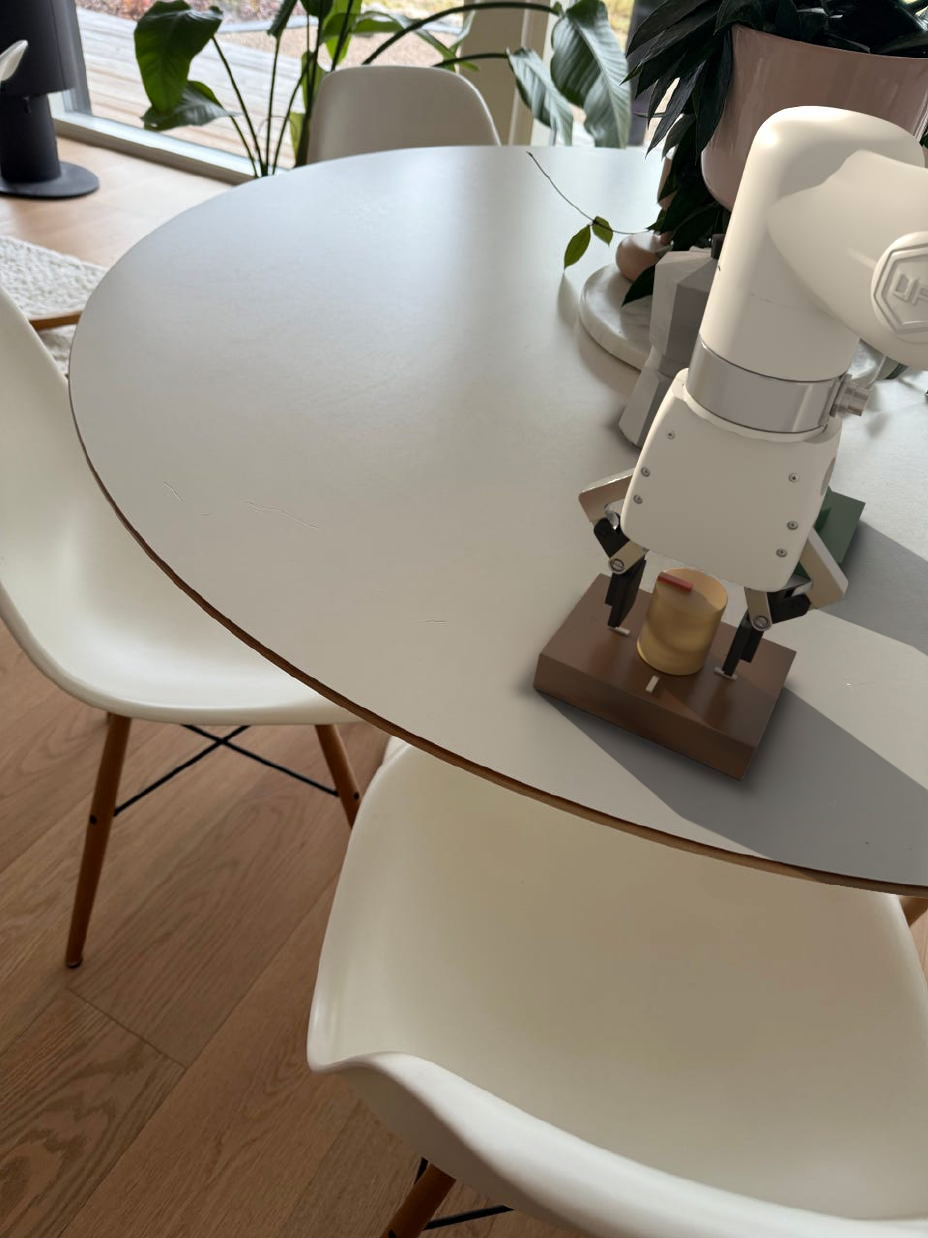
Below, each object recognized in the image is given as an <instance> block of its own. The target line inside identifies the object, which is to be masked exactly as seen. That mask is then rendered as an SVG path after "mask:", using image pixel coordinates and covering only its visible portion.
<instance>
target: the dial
mask: <svg viewBox="0 0 928 1238" xmlns="http://www.w3.org/2000/svg"><path fill="white" fill-rule="evenodd" d="M651 593H652V595H651V599H650V602H649V605H648V609H647V612H646V615H645V618H644V622H643V625H642V628H641V632H640V635H639V638H638V642H637V647H638V651H639V653H640V655H641V657H642V658H643V659H644V660H645V661H646V662H647V663H648V664H649V665H651V666H652V667H654V668H655V669H657V670H659V671H662V672H664V673H668V674H673V675H689V674H693V673H695V672H697V671H699V670H700V669H701V668H702V667H703V666H704V665H705V662H706V660H707V657H708V654H709V651H710V649H711V646H712V643H713V641H714V638H715V635H716V632H717V630H718V627H719V624H720V622H721V621H722V619H723V616H724V613H725V611H726V608H727V605H728V602H729V596H728V593H727V590H726V589H725V586H723V584H721V583H720V581H718V580H717V579H716V578H714V577H713V576H711V575H709V574H708V573H706V572H704V571H701V570H698V569H697V570H696V569H692V568H684V567H677V568H671V569H668V570H665V571H660V572H659V573H658V575H657V577H656V578H655V583H654V586H653V589H652V591H651Z"/></svg>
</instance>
